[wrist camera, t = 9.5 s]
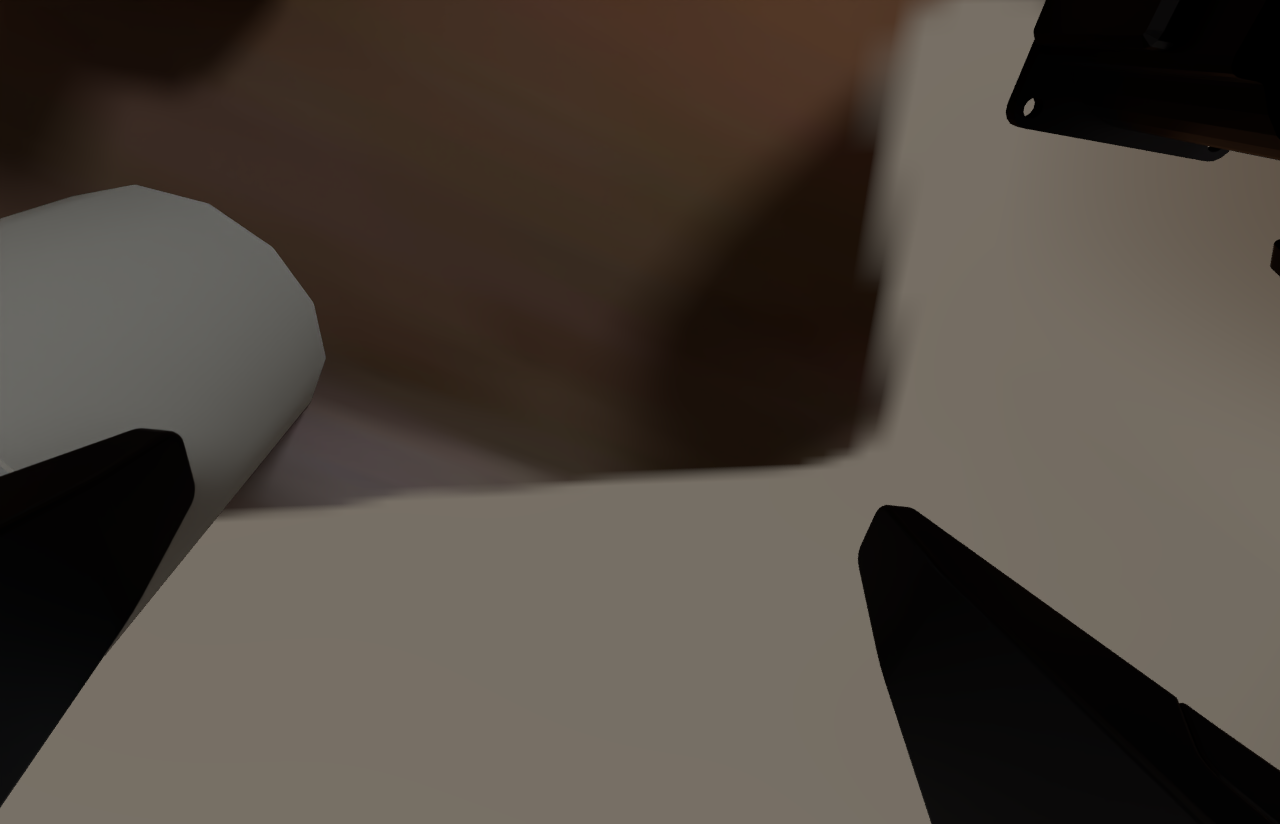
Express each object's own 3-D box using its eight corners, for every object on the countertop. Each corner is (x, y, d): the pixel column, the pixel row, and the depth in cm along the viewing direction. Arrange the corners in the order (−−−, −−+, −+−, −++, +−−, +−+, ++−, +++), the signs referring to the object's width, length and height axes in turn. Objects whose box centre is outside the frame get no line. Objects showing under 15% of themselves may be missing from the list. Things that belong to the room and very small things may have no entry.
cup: (344, 441, 22) (173, 703, 13) (98, 433, 21) (-243, 700, 13) (288, 193, 18) (-19, 349, 9) (-23, 176, 17) (-661, 324, 8)
